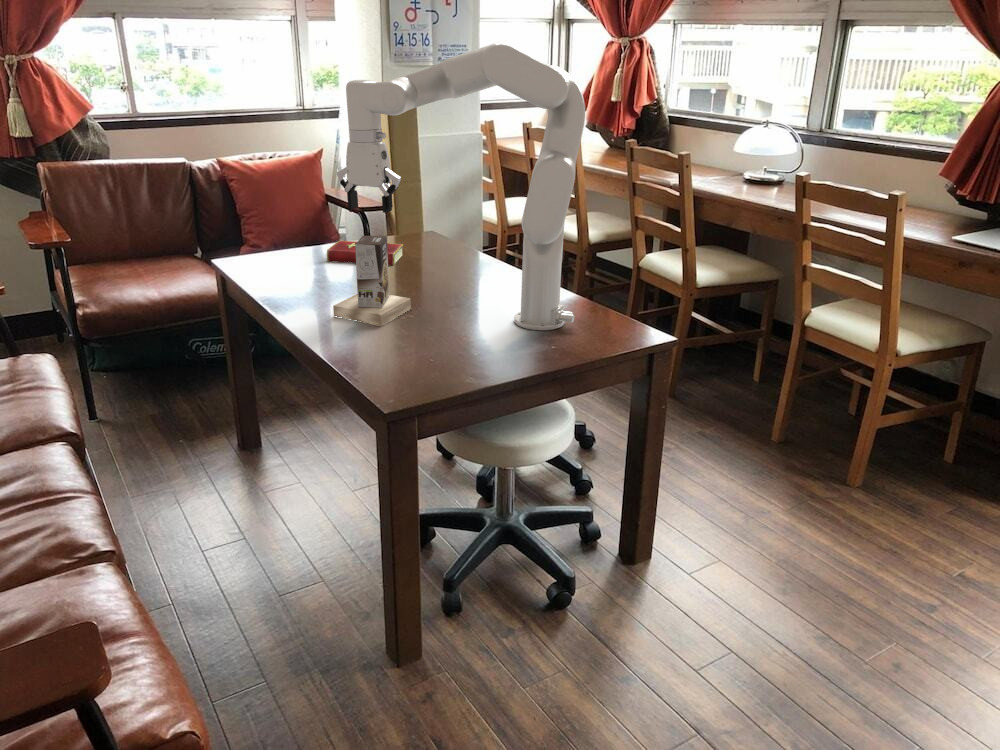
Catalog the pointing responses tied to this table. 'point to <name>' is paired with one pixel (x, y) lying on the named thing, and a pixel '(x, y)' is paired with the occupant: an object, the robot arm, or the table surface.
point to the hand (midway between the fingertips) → (370, 209)
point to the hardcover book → (347, 252)
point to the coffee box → (372, 271)
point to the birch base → (372, 310)
